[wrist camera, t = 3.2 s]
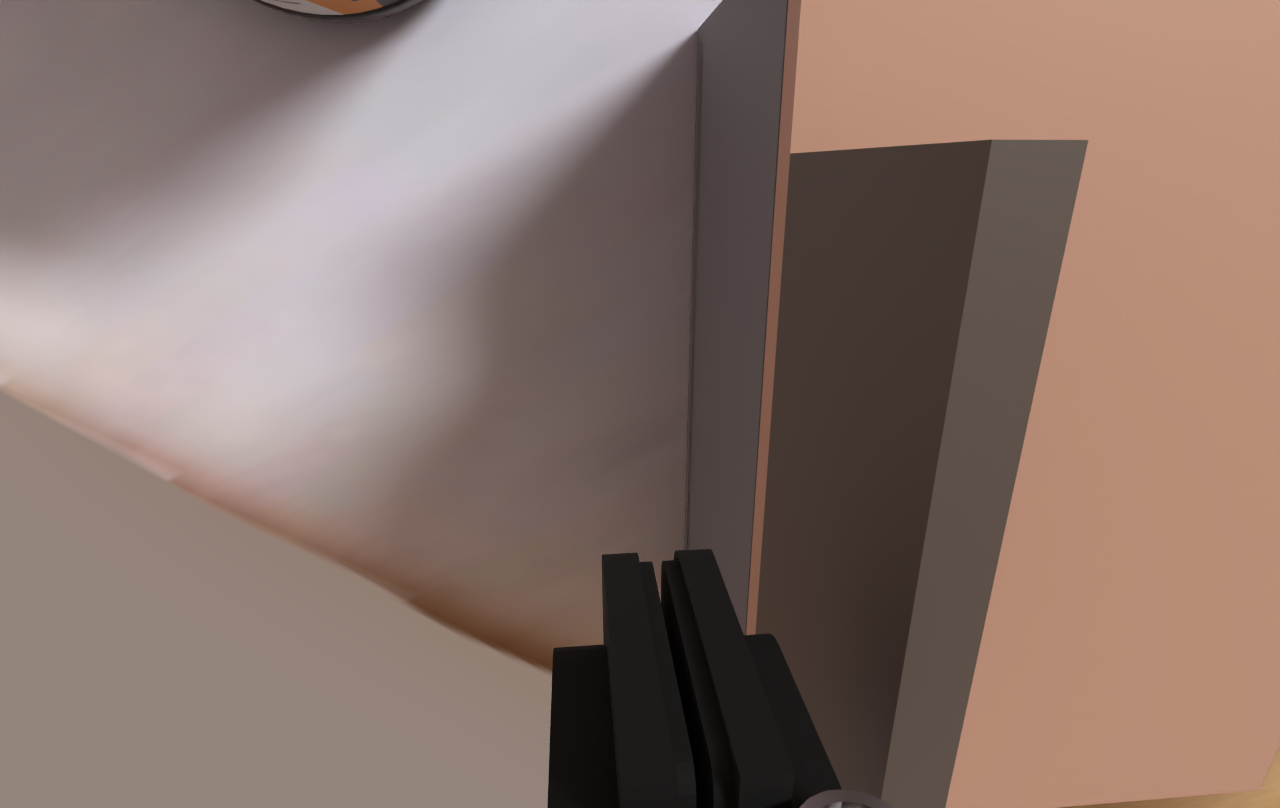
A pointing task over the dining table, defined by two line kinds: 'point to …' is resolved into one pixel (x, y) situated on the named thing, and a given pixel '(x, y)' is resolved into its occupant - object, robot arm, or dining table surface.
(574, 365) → the dining table surface
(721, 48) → the carton
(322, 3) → the supplement container
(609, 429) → the dining table surface
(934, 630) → the lid
